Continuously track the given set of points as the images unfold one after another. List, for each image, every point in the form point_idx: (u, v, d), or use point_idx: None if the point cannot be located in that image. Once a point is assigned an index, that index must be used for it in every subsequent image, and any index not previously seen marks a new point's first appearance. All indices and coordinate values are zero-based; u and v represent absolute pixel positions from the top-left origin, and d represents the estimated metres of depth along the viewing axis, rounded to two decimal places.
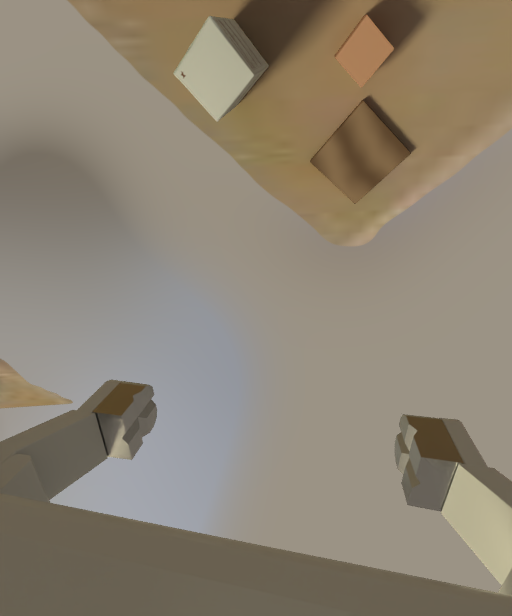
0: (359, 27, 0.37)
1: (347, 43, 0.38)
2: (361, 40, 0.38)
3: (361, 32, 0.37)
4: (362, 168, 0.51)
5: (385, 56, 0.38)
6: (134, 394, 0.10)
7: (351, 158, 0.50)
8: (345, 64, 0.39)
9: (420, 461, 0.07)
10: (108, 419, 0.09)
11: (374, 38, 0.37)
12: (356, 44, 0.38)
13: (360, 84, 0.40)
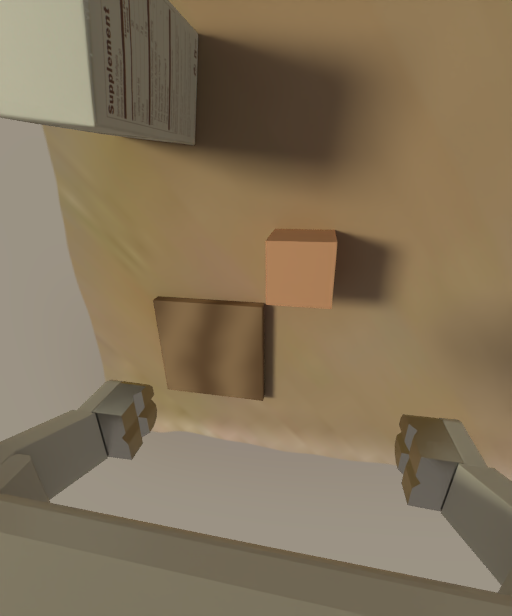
0: (318, 244, 0.21)
1: (292, 243, 0.22)
2: (308, 260, 0.22)
3: (315, 252, 0.22)
4: (205, 366, 0.33)
5: (316, 305, 0.23)
6: (134, 394, 0.10)
7: (202, 345, 0.32)
8: (270, 262, 0.23)
9: (420, 461, 0.07)
10: (108, 419, 0.09)
11: (322, 274, 0.22)
12: (300, 256, 0.22)
13: (267, 300, 0.24)
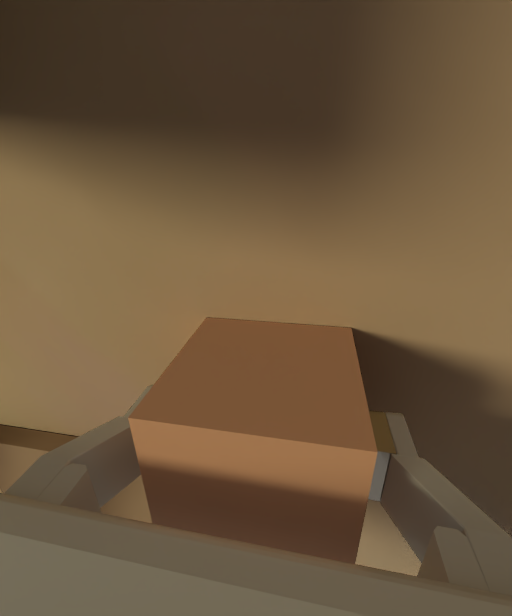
0: (307, 449, 0.06)
1: (215, 436, 0.06)
2: (273, 485, 0.06)
3: (297, 468, 0.06)
4: None
5: None
6: None
7: None
8: (154, 473, 0.07)
9: None
10: None
11: (321, 525, 0.07)
12: (245, 471, 0.06)
13: None
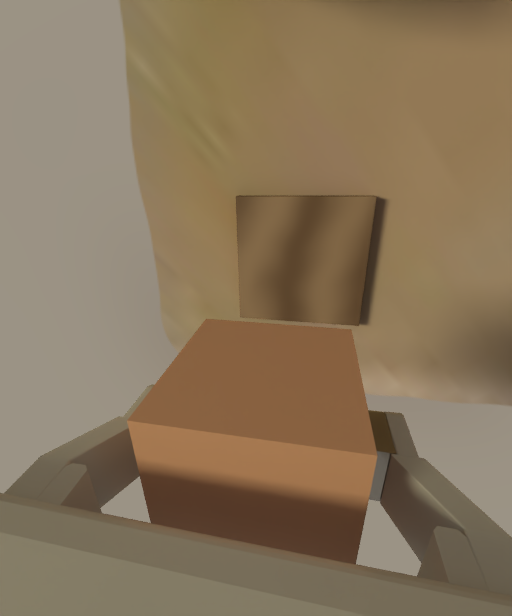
0: (307, 452, 0.06)
1: (214, 439, 0.06)
2: (272, 488, 0.06)
3: (296, 471, 0.06)
4: (291, 284, 0.27)
5: None
6: None
7: (291, 254, 0.26)
8: (153, 476, 0.07)
9: None
10: None
11: (321, 528, 0.07)
12: (244, 474, 0.06)
13: None
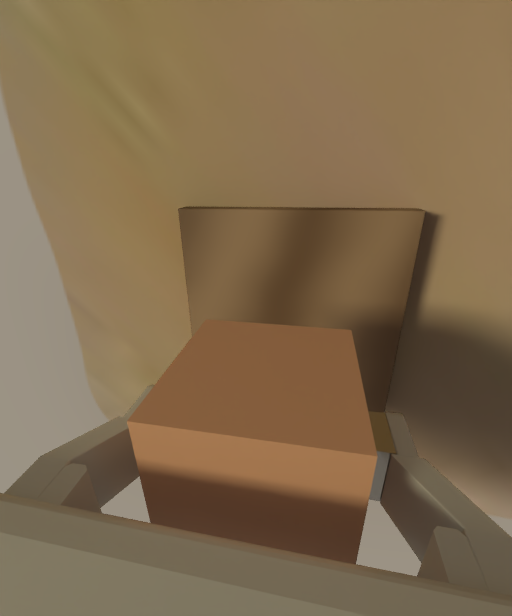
0: (307, 453, 0.06)
1: (214, 440, 0.06)
2: (272, 489, 0.06)
3: (296, 472, 0.06)
4: None
5: None
6: None
7: (273, 305, 0.16)
8: (153, 477, 0.07)
9: None
10: None
11: (321, 529, 0.07)
12: (244, 475, 0.06)
13: None
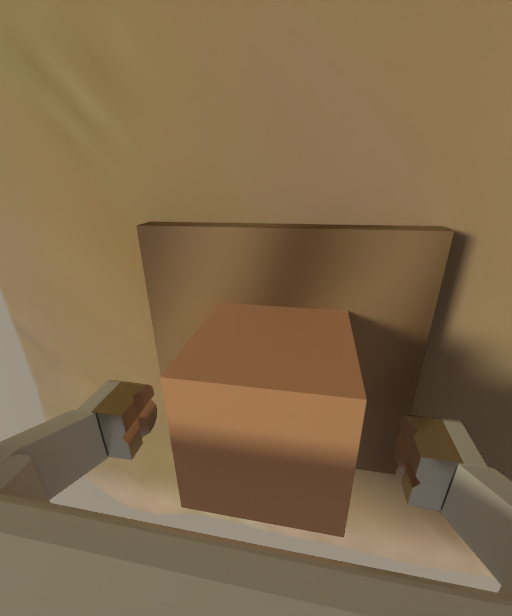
0: (310, 399, 0.07)
1: (233, 391, 0.07)
2: (280, 433, 0.08)
3: (301, 416, 0.07)
4: None
5: (305, 525, 0.09)
6: (134, 394, 0.10)
7: None
8: (180, 427, 0.08)
9: (420, 461, 0.07)
10: (108, 419, 0.09)
11: (321, 468, 0.08)
12: (257, 421, 0.08)
13: (185, 500, 0.10)
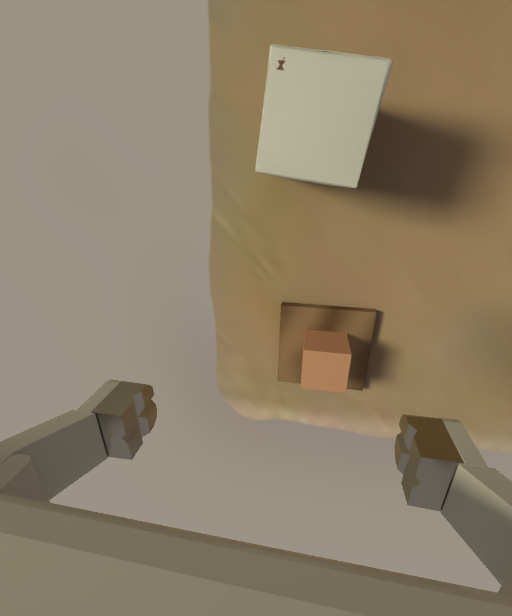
0: (339, 354, 0.33)
1: (321, 353, 0.33)
2: (331, 363, 0.33)
3: (336, 359, 0.33)
4: None
5: (335, 390, 0.34)
6: (134, 394, 0.10)
7: None
8: (305, 362, 0.34)
9: (420, 461, 0.07)
10: (108, 419, 0.09)
11: (340, 372, 0.33)
12: (326, 360, 0.33)
13: (302, 385, 0.35)
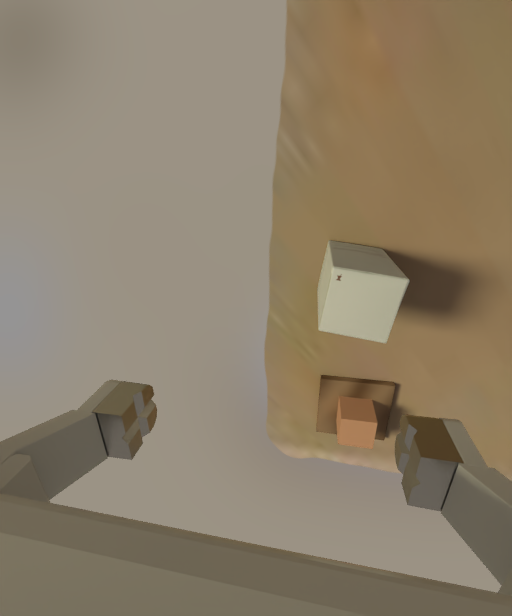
0: (368, 422, 0.44)
1: (354, 421, 0.44)
2: (362, 428, 0.44)
3: (366, 425, 0.44)
4: None
5: (365, 446, 0.46)
6: (134, 394, 0.10)
7: None
8: (342, 427, 0.45)
9: (420, 461, 0.07)
10: (108, 419, 0.09)
11: (369, 434, 0.45)
12: (358, 426, 0.44)
13: (339, 442, 0.46)
